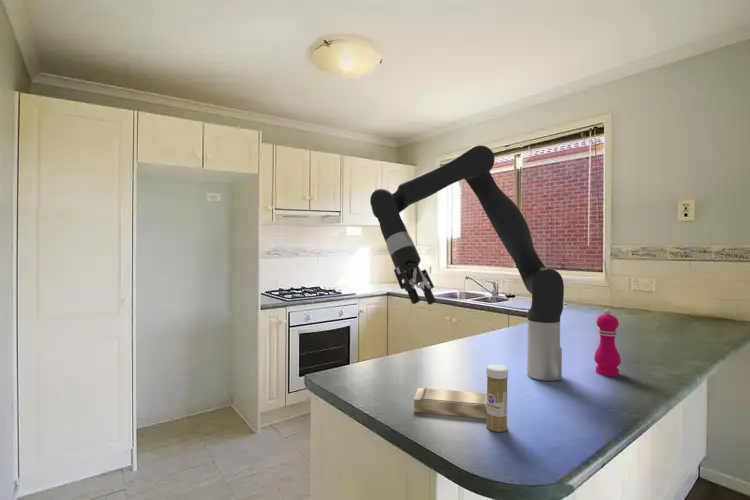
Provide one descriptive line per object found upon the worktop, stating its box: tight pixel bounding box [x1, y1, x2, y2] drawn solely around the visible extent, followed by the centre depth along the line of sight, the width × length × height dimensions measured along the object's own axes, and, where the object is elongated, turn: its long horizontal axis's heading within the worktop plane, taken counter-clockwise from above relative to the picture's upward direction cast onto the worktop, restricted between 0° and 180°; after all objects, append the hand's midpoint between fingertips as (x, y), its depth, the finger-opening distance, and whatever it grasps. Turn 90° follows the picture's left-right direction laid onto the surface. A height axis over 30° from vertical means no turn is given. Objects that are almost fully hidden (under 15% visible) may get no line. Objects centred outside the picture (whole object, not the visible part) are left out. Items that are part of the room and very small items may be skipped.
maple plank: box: [413, 387, 487, 420], centre depth 99 cm, size 20×8×3 cm, turn 77°
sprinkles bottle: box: [485, 364, 509, 433], centre depth 89 cm, size 5×5×14 cm
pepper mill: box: [593, 309, 622, 377], centre depth 126 cm, size 7×7×20 cm
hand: (424, 303), depth 109 cm, fingers open, 8 cm apart
